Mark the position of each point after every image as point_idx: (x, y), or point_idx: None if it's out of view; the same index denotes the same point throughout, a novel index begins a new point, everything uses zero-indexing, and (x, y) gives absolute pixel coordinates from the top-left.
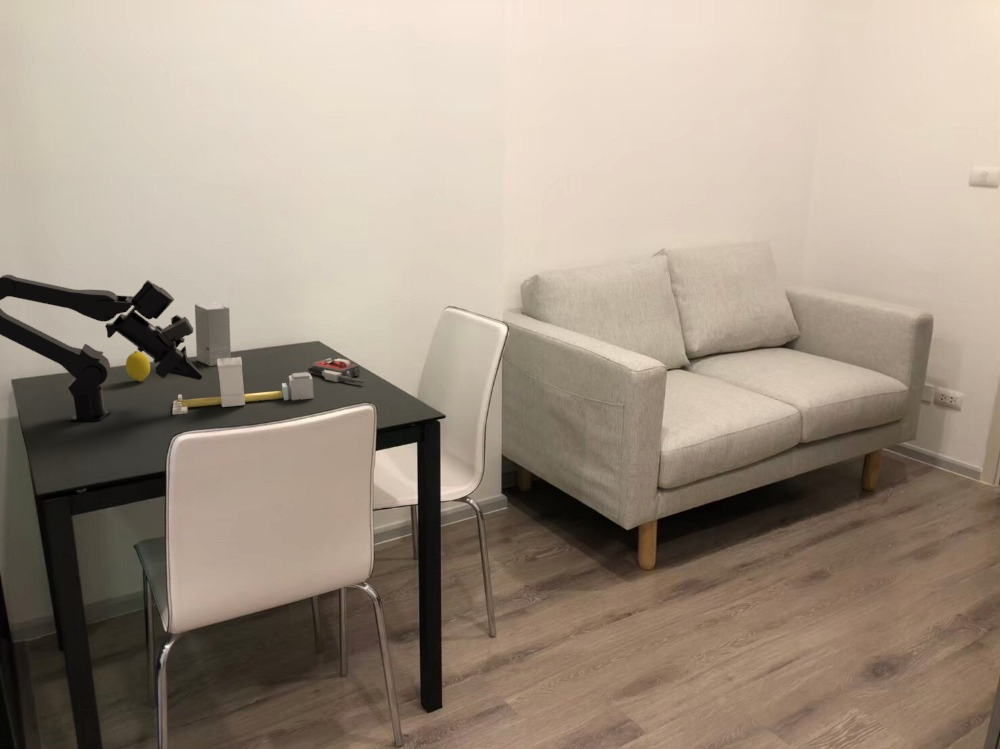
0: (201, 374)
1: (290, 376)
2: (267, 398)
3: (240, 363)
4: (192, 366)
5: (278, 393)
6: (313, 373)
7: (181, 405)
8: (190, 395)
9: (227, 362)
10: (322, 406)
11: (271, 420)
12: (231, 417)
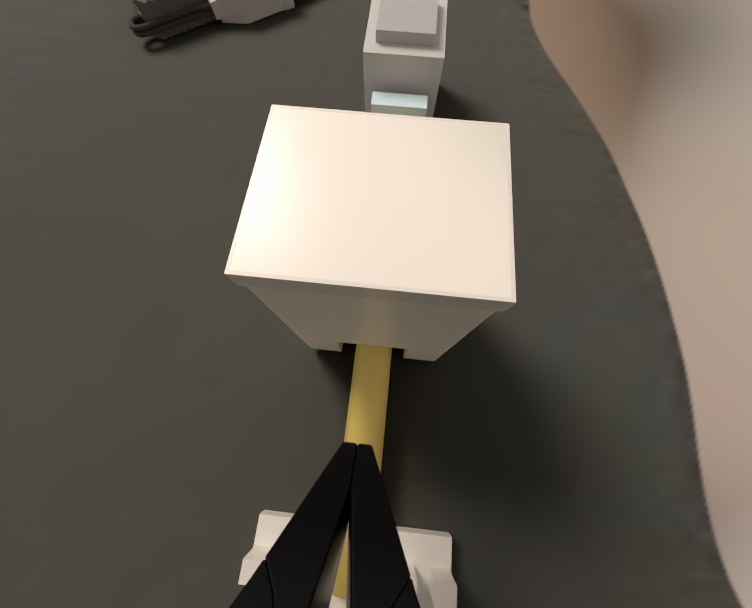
0: (342, 450)
1: (379, 49)
2: None
3: (487, 130)
4: (403, 582)
5: None
6: (165, 35)
7: None
8: (153, 482)
9: (413, 210)
10: (526, 76)
11: (637, 220)
12: (568, 343)
